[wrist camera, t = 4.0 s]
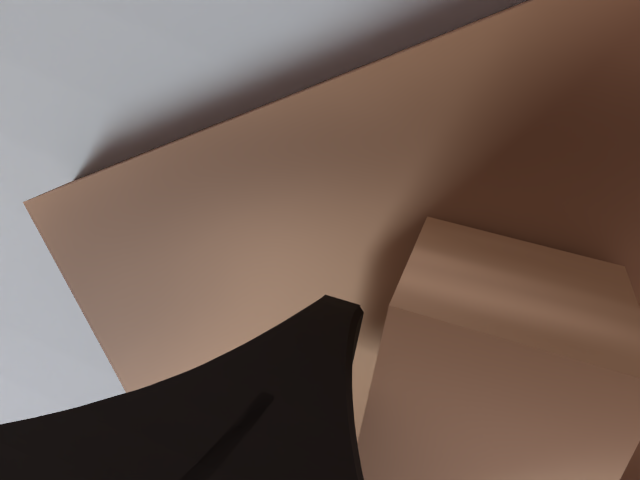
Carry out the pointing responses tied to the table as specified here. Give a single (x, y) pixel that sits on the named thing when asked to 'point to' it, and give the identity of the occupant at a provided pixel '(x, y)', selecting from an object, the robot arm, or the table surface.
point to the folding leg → (503, 364)
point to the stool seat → (360, 189)
